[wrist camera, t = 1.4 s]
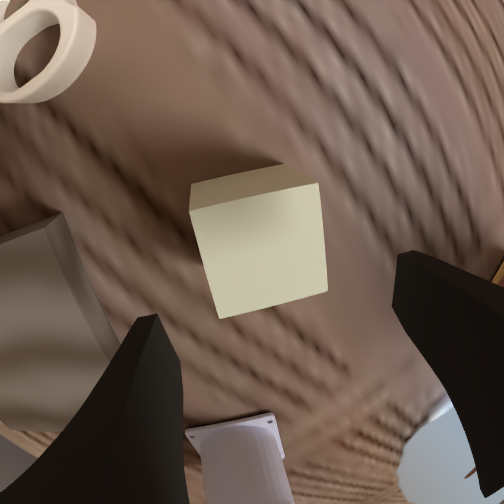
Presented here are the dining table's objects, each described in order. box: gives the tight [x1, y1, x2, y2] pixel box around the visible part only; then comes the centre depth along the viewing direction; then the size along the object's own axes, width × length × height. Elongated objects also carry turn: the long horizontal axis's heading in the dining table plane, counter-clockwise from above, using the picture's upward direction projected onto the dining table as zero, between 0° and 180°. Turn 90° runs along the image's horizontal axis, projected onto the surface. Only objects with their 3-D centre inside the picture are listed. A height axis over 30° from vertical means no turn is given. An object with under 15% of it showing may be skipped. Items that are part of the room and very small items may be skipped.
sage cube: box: [189, 164, 328, 319], centre depth 15 cm, size 5×5×5 cm
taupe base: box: [0, 212, 120, 432], centre depth 17 cm, size 16×16×2 cm
